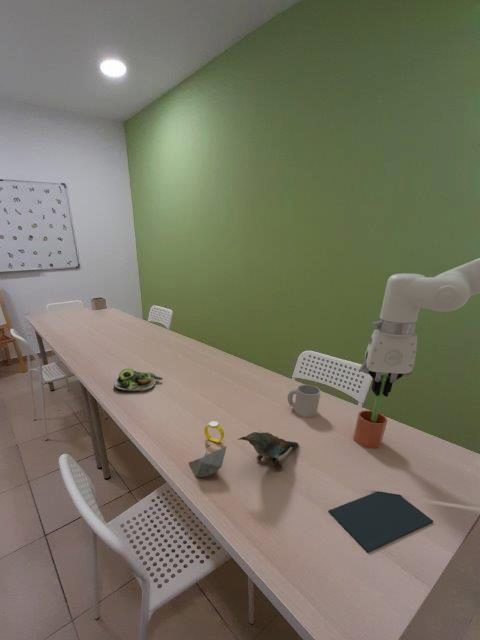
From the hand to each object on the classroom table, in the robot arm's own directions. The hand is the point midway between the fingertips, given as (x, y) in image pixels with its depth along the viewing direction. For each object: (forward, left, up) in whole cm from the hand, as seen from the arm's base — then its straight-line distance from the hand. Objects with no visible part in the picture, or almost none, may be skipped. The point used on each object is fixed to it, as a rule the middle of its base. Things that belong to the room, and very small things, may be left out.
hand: (379, 393), depth 80 cm
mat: (+4, +27, -16) cm, 32 cm away
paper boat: (+42, +21, -16) cm, 50 cm away
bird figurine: (+27, +14, -16) cm, 35 cm away
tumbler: (0, 0, -16) cm, 16 cm away
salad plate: (+83, -22, -16) cm, 87 cm away
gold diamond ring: (+43, +9, -16) cm, 47 cm away
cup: (+17, -13, -16) cm, 27 cm away
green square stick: (0, 0, -9) cm, 9 cm away
